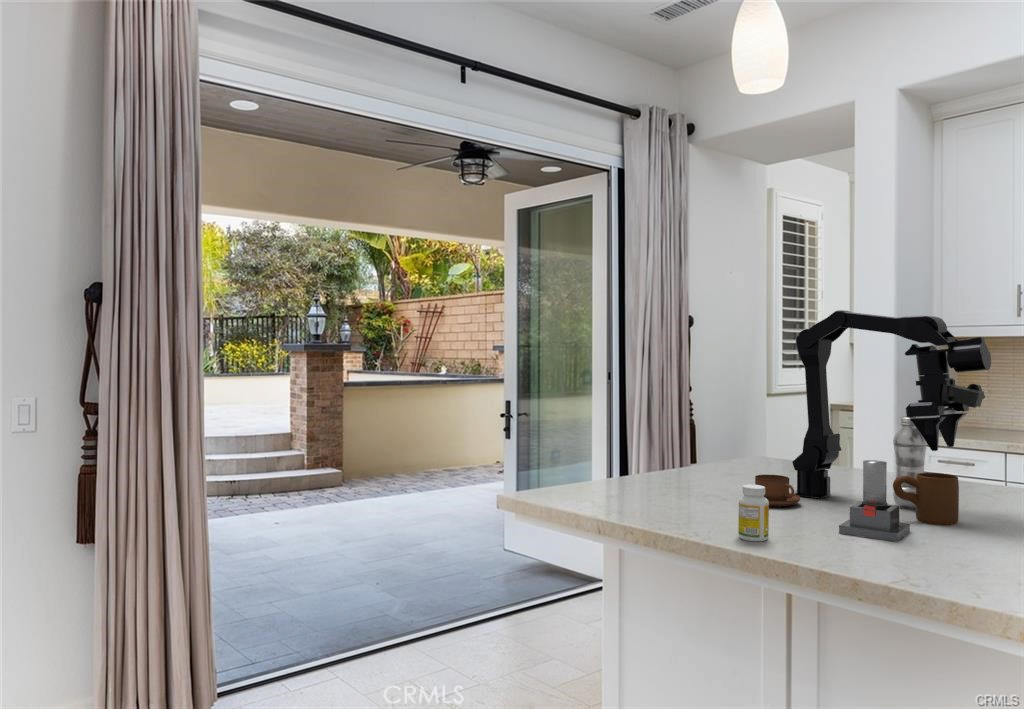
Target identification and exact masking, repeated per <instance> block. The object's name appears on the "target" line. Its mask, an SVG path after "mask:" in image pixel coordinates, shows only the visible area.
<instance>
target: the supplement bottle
mask: <svg viewBox="0 0 1024 709" xmlns="http://www.w3.org/2000/svg"><path fill="white" fill-rule="evenodd" d="M742 494H743V496H740V498H739V499H738V521H737V522H738V531H737V532H738V533H737V535H738V537H739V539H742V540H744V541H748V542H766V541H767V540H768V539H769V529H770V527H769V525H770V524H769V522H770V520H769V519H770V518H769V516H770V506H769V501H768V500H767V499H766V498H765V497H764V495H765V487H764V486H760V485H755V484H744V485H742Z"/></svg>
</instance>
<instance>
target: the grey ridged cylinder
mask: <svg viewBox="0 0 1024 709" xmlns="http://www.w3.org/2000/svg"><path fill="white" fill-rule="evenodd" d="M887 471H888V470H887V462H886V461H885V460H884V461H883V460H878V459H877V460H876V459H873V460H872V459H867V460H865V459H864V460H863V462H862V472H863V473H862V492H863V493H862V500H861V501H862V504H863V507H864V506H865V505H869V506H877V509H880V510H886V507H887V506H888V502H887V479H888V478H887Z"/></svg>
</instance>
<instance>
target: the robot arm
mask: <svg viewBox="0 0 1024 709" xmlns="http://www.w3.org/2000/svg"><path fill="white" fill-rule="evenodd" d="M848 329H855V330H863V331H868V332H869V331H870V332H877V333H878V332H879V333H886V334H891V335H892V334H893V335H896V336H898V337H900V338H901V337H902V338H904V339H906V340H910V341H913V342H917V343H920V344H932V345H925V346H919V344H917V343H916V344H915V343H912V344H911V346H910V347H909V348H908V350H906V351H905V352H904V356H907V357H908V356H909V357H910V356H915V359H916V367H917V376H918V380H915V387H917V386H919V390H920V399H919V400H917V402H912V403H909V404H908V405H907V406H906V408H905V413H906V416H907V417H917V418H911V419H910V421H912V422H913V423H914V425H915V426H916V428H917V429H918V430H919V432H920V433H921V435H922V436H923V438H924V439H925V441H926V443H927V446H928V448H929V450H931V451H932V452H936V451H937V452H938V451H939V437H940V435H941V436H942V438H943V441H944V443H945V444H946V446H947V447H948V448H953V447H954V446H955V442H956V436H957V430H958V425H959V422H960V421H961V420H962V419H963V418H964V417H965V416H966V415H967V414H968V413H967V412H969V411H970V409H969V408H977V407H979V408H980V407H981V406H982V403H983V400H984V399H985V398H986V395H985V390H982V389H983V388H982V386H981V384H977V383H970V384H968V385H967V387H966V386H960V385H957V384H956V379H954V377H951V376H950V370H949V368H950V369H953V370H954V371H955V372H956V373H967V372H970V373H971V372H978V371H979V372H980V371H988V370H989V371H990V369H991V366H992V355H991V352H989V351H990V350H989V347H988V345H987V343H986V342H985V337H983V336H978V337H972V338H968V339H958V338H956V336H954V335H953V334H952V333H951V332H950V331H949V330H948V326H947V323H946V322H945V321H944V319H943V318H940V317H938V316H932V315H931V316H929V315H913V316H899V317H895V316H888V315H887V316H886V315H885V316H884V315H879V314H878V315H877V314H869V313H862V312H852V311H850V310H843V309H842V310H841V309H840V310H839V309H838V310H835V311H833V313H831V314H829V315H828V317H826V318H824V319H822V320H820V321H819V322H817V323H815V324H813V325H811V327H810V328H805V329H803V330H801V331H799V333H798V334H797V335H796V337H795V344H796V349H797V354H798V356H799V359H800V360H801V362H802V364H803V367H804V374H805V392H806V406H807V409H806V410H807V426H808V427H807V430H806V432H805V436H804V438H803V444H802V453H800V454H799V455H798V456H797V457H796V458H794V460H793V461H792V467H793V469H794V471H796V477H797V478H796V492H794V494H795V495H798V496H800V497H805V498H813V499H821V500H822V499H824V498H827V497H828V496H831V476H829V469H831V467H832V464H833V462H835V461H836V460H837V459H838V457H839V455H840V454H839V453H840V452H841V451H842V448H841V443H840V440H841V435H840V433H834V432H833V430H832V428H831V425H830V424H831V423H830V408H829V407H830V406H829V394H828V377H827V376H828V375H827V366H828V365H827V364H828V362H829V360H830V357H831V353H832V343H833V342H836V340H838V338H840V337H841V336H842V334H844V332H845V331H846V330H848ZM936 346H937V347H938V346H939V347H947V348H945V349H943V348H941V349H938V348H937V347H936ZM939 432H940V435H939Z"/></svg>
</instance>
